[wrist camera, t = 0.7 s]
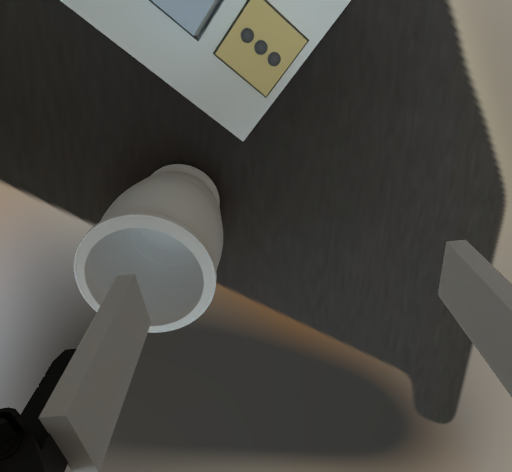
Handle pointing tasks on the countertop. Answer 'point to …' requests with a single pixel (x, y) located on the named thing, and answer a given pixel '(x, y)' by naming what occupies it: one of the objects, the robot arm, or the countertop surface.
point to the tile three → (261, 45)
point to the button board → (206, 50)
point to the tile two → (189, 12)
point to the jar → (158, 246)
